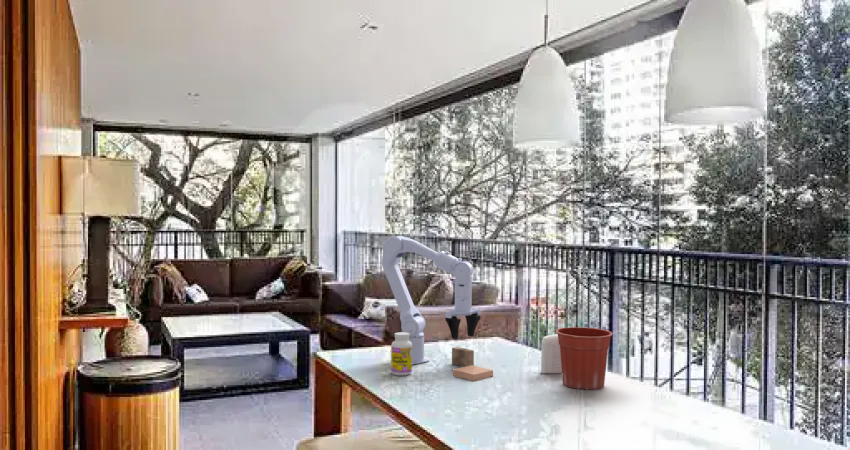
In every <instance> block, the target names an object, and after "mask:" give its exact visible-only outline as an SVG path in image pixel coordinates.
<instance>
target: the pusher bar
mask: <svg viewBox="0 0 850 450" xmlns="http://www.w3.org/2000/svg"><path fill="white" fill-rule="evenodd" d="M474 357H475V351H474V350H473V349H469V348H464V347H461V346H460V347H459V346H455V347H451V364H452V365H456V366H459V367H466V366H471V365H473V366H475V364H474V363H475V358H474Z"/></svg>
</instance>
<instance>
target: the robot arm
mask: <svg viewBox="0 0 850 450" xmlns="http://www.w3.org/2000/svg"><path fill="white" fill-rule="evenodd" d="M406 253H415V254H417V255H420V256H421V257H424V258H427V259H428V260H431V261H433V263H434V266H435V267H437V268H439V269H441V270H442V271H445V272H447V273H449V274H451V275H453V276H454V277H455V278H454V309H452V310H448V311H445V318H444V319H445V320H444V321H445V322H446V323H447V326H448V329H449V331H450V335H451V338H452V340H458V339H459V329H460V323H461V321H462V320H461V319H460V318H458V317H465V320H466V326H467V327H466V331H467V336H468V337H474V336H475V333H476V328H477V325H478V324H479V321H480V319H481V315H480V314H481V309H480V308H476V307H475V308H472V299H473V298H472V297H473V296H472V294H473V293H472V291H473V290H472V289H473V287H472V286H473V285H472V275H473V274H474V267H473V265H472V263H471V262H469V261H468V260H463V258H462V257H459V258H458V257H456V256H454V255H452V254H451V253H450V251H448V250H446V251H444V250H442V251H438V252H437V251H436V250H433V249H432V248H430V247H428V246H426V245H424V244H423V243H421V242H418V241H417V240H415V239H412V238H410V237H407V236H405V235H397V236H396V235H391V236H389V237H387V238H386V240H385V241H384V243H383V244H382V258H381V266H382V268H383V271H384V273H385V277H386V279H387V281H388V284H389V286H390V289H391V292H392V294H393V296H394V298H395V301H396V304H397V306H398V310H399V312H400V313H399V320H400V322H401V323H400V324H401V326H400V327H401V332H406V333H409V341H410V342H411V343H412V365H417V364H422V363H427V362H430V360H429V359H426V358H425V333H424V330H425V329H426V328H427V321H426V319H425V318H424V316H423V315H421V313H420V310H419V309H418V308H417V307H416V306H415V305H414V302H413V299H412V297H411V294H410V292H409V290H408V287H407V283H406V281H405V279H404V277H403V274H402V271H401V270H400V266H399V263H400V261H401V258H402V257H403V256H404V255H405V254H406Z"/></svg>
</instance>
